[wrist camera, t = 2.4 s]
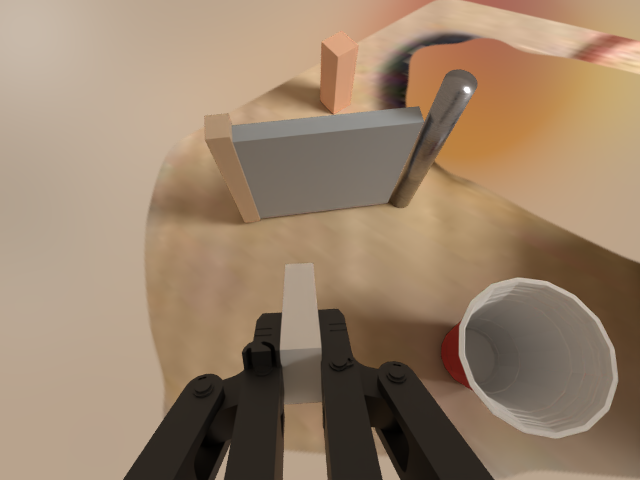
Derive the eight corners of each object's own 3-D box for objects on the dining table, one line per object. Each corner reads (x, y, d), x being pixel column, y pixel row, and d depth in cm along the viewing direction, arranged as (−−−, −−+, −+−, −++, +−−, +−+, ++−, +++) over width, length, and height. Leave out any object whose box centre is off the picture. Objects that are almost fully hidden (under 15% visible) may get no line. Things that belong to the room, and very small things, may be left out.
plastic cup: (395, 330, 35) (433, 312, 24) (479, 288, 37) (551, 254, 26) (450, 435, 32) (525, 473, 20) (540, 384, 33) (654, 393, 22)
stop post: (350, 104, 46) (358, 45, 38) (333, 114, 45) (338, 57, 37) (336, 90, 47) (341, 30, 38) (320, 100, 46) (321, 41, 38)
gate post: (412, 195, 41) (481, 76, 24) (405, 210, 40) (471, 99, 23) (394, 187, 41) (450, 65, 24) (387, 202, 41) (439, 87, 24)
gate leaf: (384, 189, 40) (421, 94, 26) (388, 205, 39) (429, 116, 25) (243, 205, 39) (204, 115, 25) (244, 222, 38) (204, 139, 24)
